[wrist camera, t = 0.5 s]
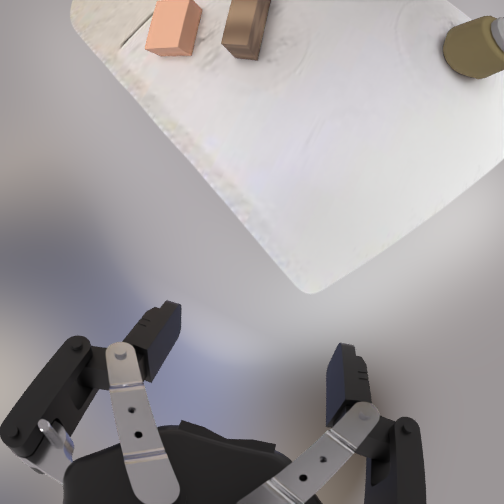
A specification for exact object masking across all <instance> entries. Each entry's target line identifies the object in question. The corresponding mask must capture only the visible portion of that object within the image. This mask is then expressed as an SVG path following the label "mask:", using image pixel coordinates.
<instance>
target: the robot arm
mask: <svg viewBox="0 0 504 504" xmlns="http://www.w3.org/2000/svg"><path fill="white" fill-rule="evenodd" d="M180 330H181V305H180V304H177V303H174V302H171V301H165V303H164V304H163V305H162V306H161V308H157V307H154V308H152V309H150V310H148V311H147V312H146V313H145V314H144V315H143V317H142V319H140V320H139V322H138V323H137V324H136V325H135V326H134V328H133V329H132V330H131V331H130V333H129V334H128V335H127V336H126V338H125V339H124V340H123V341H122V342H116V343H113V344H111V345H110V346H109V347H108V348H102V347H95V346H91V344H90V341H89V340H88V339H87V338H86V337H83V336H73V337H70V338H69V339H67V340H66V341H65V342H64V344H63V345H62V346H61V347H60V348H59V350H58V351H57V352H56V353H55V354H54V356H53V357H52V358H51V359H50V360H49V362H48V363H47V364H46V365H45V367H44V368H43V369H42V370H41V372H40V373H39V374H38V375H37V377H36V378H35V379H34V381H33V382H32V383H31V385H30V386H29V387H28V388H27V390H26V391H25V392H24V394H23V395H22V396H21V398H20V399H19V400H18V402H17V403H16V404H15V406H14V407H13V408H12V410H11V411H10V413H9V414H8V416H7V417H6V418H5V420H4V421H3V423H2V424H1V427H0V437H1V439H2V441H3V442H4V443H5V444H6V445H7V446H8V447H9V448H10V449H11V450H12V452H13V453H14V454H15V455H16V456H17V457H18V458H19V459H20V460H22V461H23V462H24V463H25V464H26V465H28V466H29V467H31V468H32V469H33V470H34V471H36V472H38V473H40V474H46V475H48V476H49V477H51V478H52V479H54V480H55V481H57V482H59V483H60V484H62V485H63V489H64V499H63V504H322V503H321V501H320V500H319V498H318V497H317V495H316V494H315V493H316V492H317V491H318V490H319V489H320V488H321V487H322V486H323V485H324V484H325V483H326V482H327V481H328V480H329V479H330V478H331V477H332V476H333V475H334V474H335V473H336V472H337V471H338V470H339V469H340V468H341V467H342V466H343V464H344V463H345V462H346V461H347V460H348V459H349V458H350V457H351V456H352V454H353V453H357V454H359V455H362V456H365V457H366V484H365V499H364V504H426V484H425V471H424V459H423V450H422V442H421V434H420V428H419V425H418V424H417V422H416V421H415V420H413V419H412V418H409V417H401V418H399V419H398V420H397V421H396V422H395V421H392V420H390V419H387V418H384V417H382V416H380V414H379V411H378V409H377V408H376V407H375V406H374V405H373V404H372V401H371V393H370V386H369V381H368V374H367V366H366V363H365V362H364V360H363V359H362V357H360V356H356V354H355V347H354V346H353V345H349V344H344V343H339V344H338V346H337V348H336V350H335V352H334V354H333V356H332V358H331V361H330V362H329V365H328V368H327V373H326V387H327V388H326V427H331V428H332V429H330V430H328V431H327V432H326V433H324V435H322V436H321V437H320V438H319V439H318V440H317V441H316V442H315V443H314V444H313V445H312V446H310V447H309V448H308V449H307V450H306V451H305V452H304V453H302V454H301V455H300V456H299V457H298V458H297V459H296V460H294V461H293V462H292V461H291V460H290V459H289V458H288V457H286V456H285V455H284V454H282V453H280V452H278V451H276V450H275V446H276V444H272V443H266V442H262V441H257V440H243V439H226V438H224V437H222V436H220V435H218V434H216V433H214V432H212V431H210V430H208V429H206V428H205V427H202V426H199V425H196V424H192V423H189V422H186V421H183V420H181V423H180V425H179V426H178V425H167V426H160V427H157V426H156V423H155V420H154V417H153V414H152V411H151V407H150V404H149V401H148V397H147V394H146V390H145V386H144V383H143V382H144V380H146V381H148V382H151V383H152V381H153V379H154V377H155V376H156V374H157V373H158V371H159V369H160V367H161V366H162V364H163V362H164V360H165V359H166V357H167V355H168V354H169V352H170V351H171V349H172V347H173V346H174V344H175V342H176V340H177V339H178V337H179V334H180ZM99 389H103V390H109V391H110V397H111V403H112V408H113V413H114V418H115V422H116V427H117V432H118V436H119V440H120V443H118V444H116V445H113V446H111V447H108V448H106V449H103V450H101V451H98V452H95V453H92V454H90V455H87V456H84V457H81V458H79V459H76V460H75V461H73V460H72V454H73V451H74V443H73V441H72V439H71V438H70V437H71V435H72V434H73V432H74V430H75V428H76V427H77V425H78V423H79V421H80V420H81V418H82V416H83V415H84V413H85V411H86V410H87V408H88V406H89V405H90V403H91V401H92V400H93V398H94V396H95V395H96V393H97V392H98V390H99Z"/></svg>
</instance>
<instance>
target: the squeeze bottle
mask: <svg viewBox="0 0 504 504" xmlns="http://www.w3.org/2000/svg"><path fill="white" fill-rule="evenodd" d="M443 53H444V57H445V59H446V61H447V63H448V64H449V65H450V66H451V68H452V69H453V70H455V71H456V72H458V73H459V74H462V75H466V76H469V77H472V78H476V79H482V78H486V77H488V76H491V75H493V74H495V73H497V72H500V71H502V70H504V17H503V18H502V17H501V18H498V19H497V18H494V17H492V16H483V17H480V18H477V19H475V20H472V21H469V22H466V23H463V24H461V25H458V26H455V27H453V28H452V29H451V30H450V31H449V32H448V33H447V36H446V39H445V42H444V46H443Z"/></svg>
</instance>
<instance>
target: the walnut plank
mask: <svg viewBox="0 0 504 504" xmlns="http://www.w3.org/2000/svg"><path fill="white" fill-rule="evenodd" d="M270 1H271V0H232V1H231V5H230V9H229V13H228V17H227V21H226V25H225V29H224V33H223V38H222V42H221V44H222V45H223V46H224V47H225V48H226V49H227V50H228V51H229V52H230V53H231V54H232V55H233V56H234V57H235V58H240V59H250V60H258V56H259V51H260V46H261V42H262V37H263V32H264V28H265V23H266V19H267V14H268V10H269V6H270Z"/></svg>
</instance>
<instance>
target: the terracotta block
mask: <svg viewBox="0 0 504 504" xmlns="http://www.w3.org/2000/svg"><path fill="white" fill-rule="evenodd" d="M201 14H202V9H201V8H200V7H199V6H198V5H197V4H196V3H195V2H194V1H193V0H161V1H157V3H156V7H155V10H154V14H153V17H152V21H151V25H150V29H149V33H148V37H147V41H146V45H145V50H148V51H150V52H153V53H155V54H157V55H159V56H192V52H193V47H194V43H195V38H196V34H197V30H198V26H199V22H200V18H201Z"/></svg>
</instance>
